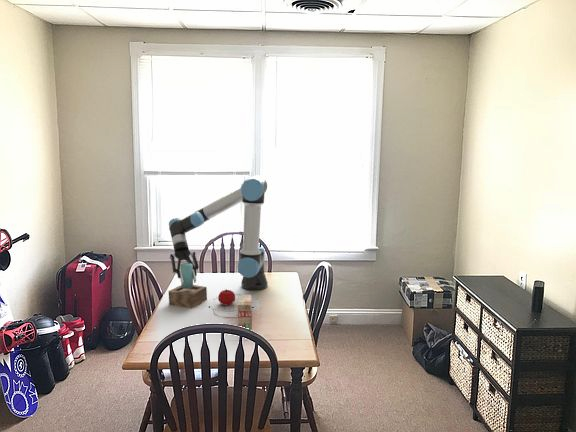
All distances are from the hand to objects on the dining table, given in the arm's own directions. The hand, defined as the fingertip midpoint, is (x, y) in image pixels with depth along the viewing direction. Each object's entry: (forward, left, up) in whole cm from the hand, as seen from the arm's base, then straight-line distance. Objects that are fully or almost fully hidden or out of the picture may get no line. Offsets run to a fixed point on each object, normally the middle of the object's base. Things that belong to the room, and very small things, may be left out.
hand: (188, 282), depth 259 cm
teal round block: (+3, -2, -4) cm, 5 cm away
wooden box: (+3, -2, -12) cm, 12 cm away
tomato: (-17, -8, -12) cm, 23 cm away
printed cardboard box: (-37, +7, -12) cm, 40 cm away
